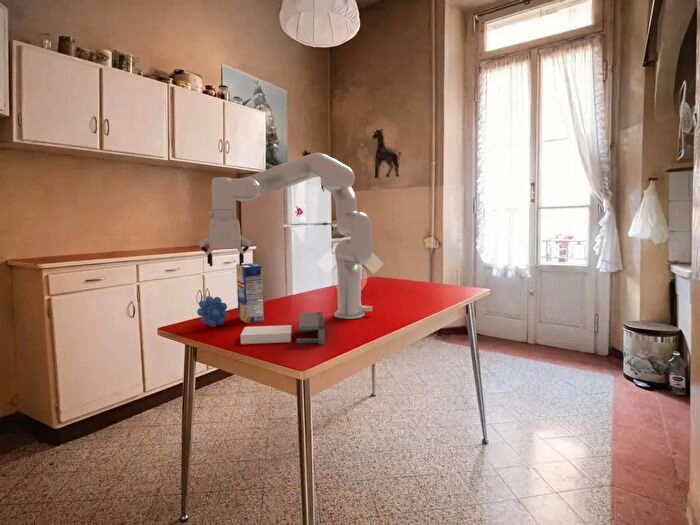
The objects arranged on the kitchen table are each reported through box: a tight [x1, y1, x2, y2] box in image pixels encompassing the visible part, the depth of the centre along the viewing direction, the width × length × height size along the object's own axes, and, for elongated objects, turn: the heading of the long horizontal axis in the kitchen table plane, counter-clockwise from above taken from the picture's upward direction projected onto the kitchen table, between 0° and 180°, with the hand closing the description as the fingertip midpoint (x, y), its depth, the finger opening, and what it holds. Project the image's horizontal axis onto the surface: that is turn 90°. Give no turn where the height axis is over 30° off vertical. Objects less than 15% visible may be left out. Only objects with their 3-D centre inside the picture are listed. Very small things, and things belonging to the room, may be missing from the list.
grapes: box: [196, 295, 229, 328], centre depth 147 cm, size 12×7×12 cm, turn 131°
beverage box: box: [236, 262, 265, 324], centre depth 158 cm, size 7×11×22 cm, turn 33°
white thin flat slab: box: [239, 324, 293, 345], centre depth 133 cm, size 16×10×3 cm, turn 96°
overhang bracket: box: [296, 311, 326, 346], centre depth 135 cm, size 9×18×6 cm, turn 6°
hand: (226, 265), depth 134 cm, fingers open, 9 cm apart
